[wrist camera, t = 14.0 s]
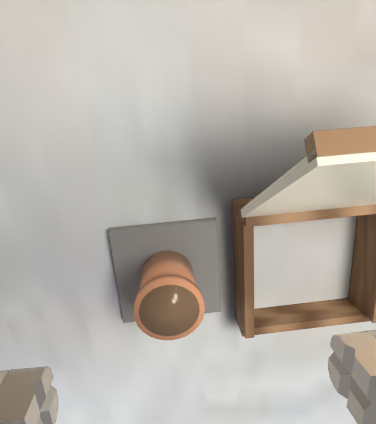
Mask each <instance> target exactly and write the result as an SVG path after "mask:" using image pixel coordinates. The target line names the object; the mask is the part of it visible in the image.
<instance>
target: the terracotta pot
mask: <svg viewBox="0 0 376 424" xmlns="http://www.w3.org/2000/svg"><path fill="white" fill-rule="evenodd" d="M204 312H205V306H204V301H203V297H202V293H201V291H200V289H199V288H198V287H197V285H196V283H195V278H194V274H193V269H192V265H191V263H190V262H189V260H188V259H187V258H186V257H185V256H184V255H182V254H180V253H178V252H175V251H161V252H158V253H155V254H153V255H152V256H150V257H149V258H148V259H147V260H146V261H145V263H144V265H143V267H142V271H141V281H140V289H139V291H138V293H137V295H136V297H135V302H134V318H135V321H136V323H137V325H138V327H139V328H140V329H141V330H142V331H143V332H144V333H146V334H147V335H149V336H151V337H153V338H156V339H160V340H174V339H179V338H182V337H185V336H187V335H188V334H190V333H191V332H193V331H194V330H195V329H196V328H197V327H198V326H199V324H200V323H201V321H202V319H203V316H204Z"/></svg>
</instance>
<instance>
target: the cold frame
mask: <svg viewBox="0 0 376 424" xmlns="http://www.w3.org/2000/svg"><path fill="white" fill-rule="evenodd" d="M254 198H255V197H250V198H240V199H232V207H233V241H234V276H235V310H236V320H237V323H238V326H239V328H240V331H241V334H242V336H245V338H253V337H254V335H259V334H267V333H275V332H283V331H292V330H300V329H308V328H316V327H325V326H333V325H341V324H349V323H357V322H366V321H371V322H372V323H376V204H374V205H364V206H354V207H344V208H333V209H323V210H313V211H303V212H293V213H283V214H273V215H263V216H253V217H243V218H242V215H241V209H242V208H243V207H244V206H245V205H247V204H248V203H249V202H250V201H252V200H253V199H254ZM349 216H357V225H356V235H355V244H354V253H353V263H352V272H351V281H350V291H349V298H345V299H337V300H328V301H320V302H311V303H302V304H294V305H285V306H277V307H268V308H260V309H254V232H253V226H261V225H271V224H281V223H290V222H300V221H310V220H320V219H330V218H340V217H349Z"/></svg>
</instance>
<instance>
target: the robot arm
mask: <svg viewBox="0 0 376 424" xmlns="http://www.w3.org/2000/svg"><path fill="white" fill-rule="evenodd" d="M330 346H331V348H332V349H333V351H334V352H333V354H332V355H331V356H330V357H329V360H328V370H329V375H330V379H331V381H332V383H333V386H334V387H335V389H336V390H337V392H338V393H339V394H341V395H342V396H344V397H345V398H347V408H348V410H349V411H350V413H351V414H352V416H353V417H354V419H355V420H356V422H357V424H376V330H369V331H362V332H354V333H346V334H337V335H333V337H332V338H331V343H330ZM52 380H53V374H52V370H51V368H50V367H36V368H24V369H12V370H6V371H0V424H55V422H56V419H57V412H58V395H57V390H56V389H55V388H54V387H52V386H51V382H52Z"/></svg>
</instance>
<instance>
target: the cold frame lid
mask: <svg viewBox="0 0 376 424" xmlns="http://www.w3.org/2000/svg"><path fill="white" fill-rule="evenodd" d="M304 141H305V147H306V153H307V156H306V157H305V158H303V159H302V160H301V161H300V162H298V163H297V164H296V165H295V166H293V167H292V168H291V169H290V170H289V171H287V172H286V173H285V174H284V175H282V176H281V177H280V178H279V179H277V180H276V181H275V182H274V183H273V184H271V185H270V186H269V187H268V188H266V189H265V190H264V191H263V192H261V193H260V194H259V195H258V196H257V197H255V198H254V199H253V200H252V201H250V202H249V203H248V204H247V205H245V206H244V207H243V208H242V209H241V215H242V218H243V217H253V216H263V215H273V214H283V213H293V212H303V211H313V210H323V209H333V208H344V207H354V206H364V205H374V204H376V126H369V127H357V128H345V129H334V130H322V131H313V132H312V133H311V134H310V135H309V136H308V137H307V138H305V139H304Z"/></svg>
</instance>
